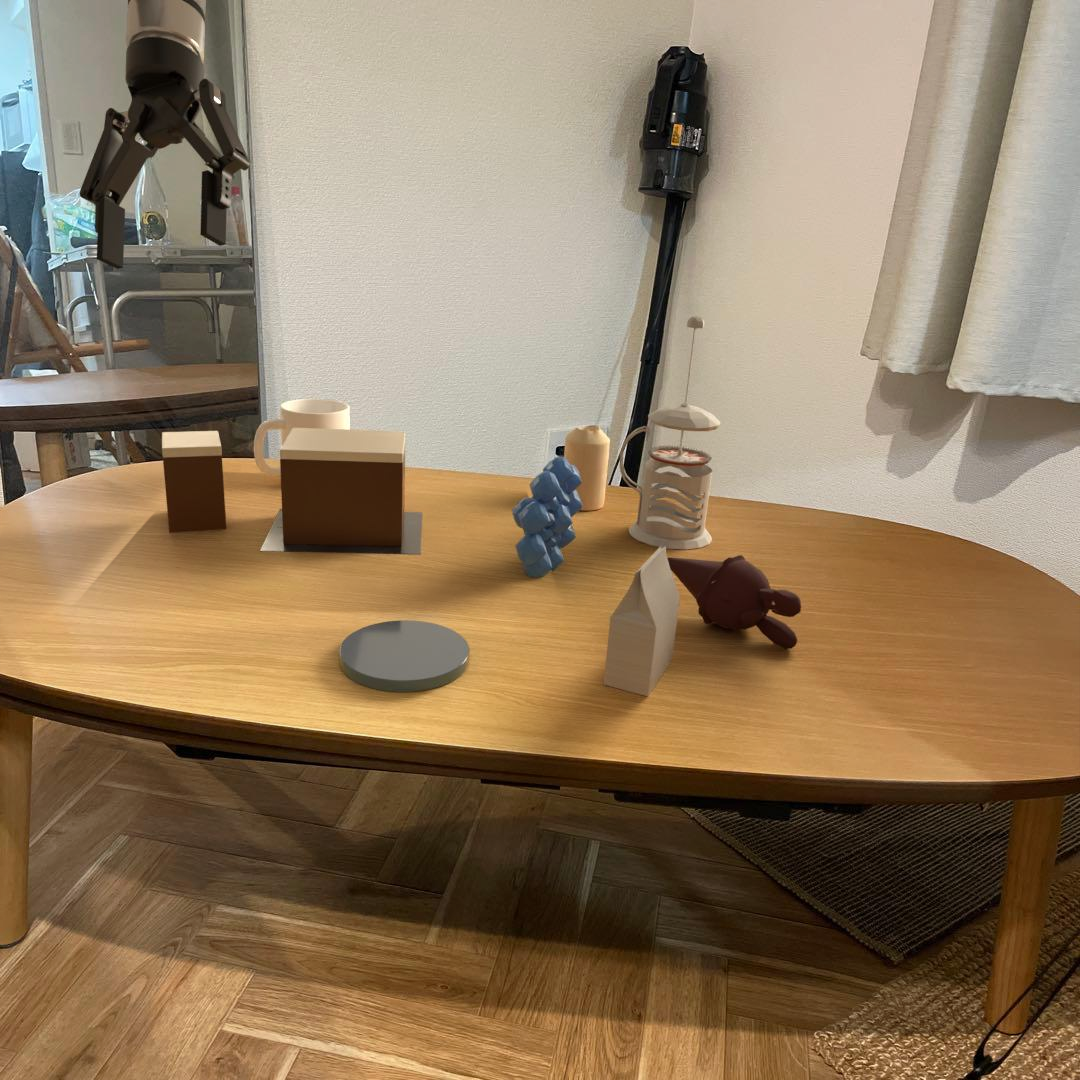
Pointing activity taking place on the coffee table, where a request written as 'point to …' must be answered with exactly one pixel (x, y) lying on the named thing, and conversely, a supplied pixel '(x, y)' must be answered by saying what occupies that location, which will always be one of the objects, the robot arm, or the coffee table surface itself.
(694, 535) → the french press
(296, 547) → the cake board
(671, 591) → the beige milk carton
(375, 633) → the plate
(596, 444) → the candle
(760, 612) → the icecream
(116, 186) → the robot arm
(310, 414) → the cup
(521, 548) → the grapes
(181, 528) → the cake slice
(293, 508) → the cake
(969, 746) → the coffee table surface
